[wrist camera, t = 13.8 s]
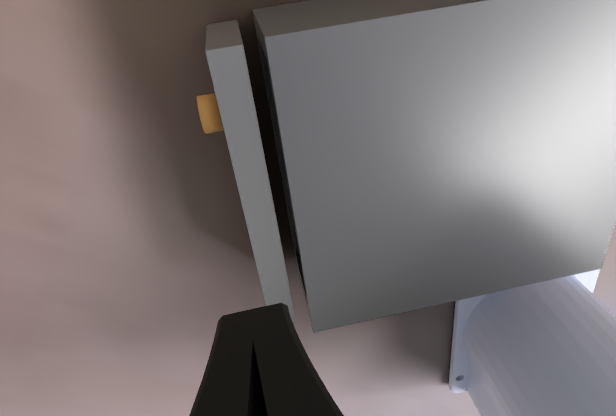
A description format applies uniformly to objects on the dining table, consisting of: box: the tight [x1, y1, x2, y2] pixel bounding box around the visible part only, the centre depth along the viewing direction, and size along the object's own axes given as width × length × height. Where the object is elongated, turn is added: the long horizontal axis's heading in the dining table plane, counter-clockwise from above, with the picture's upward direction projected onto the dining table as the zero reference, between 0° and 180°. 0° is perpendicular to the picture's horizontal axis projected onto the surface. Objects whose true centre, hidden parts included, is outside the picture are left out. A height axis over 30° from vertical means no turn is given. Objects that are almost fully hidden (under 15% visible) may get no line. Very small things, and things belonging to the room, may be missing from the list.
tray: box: [197, 20, 296, 323], centre depth 17 cm, size 11×13×4 cm
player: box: [252, 0, 616, 333], centre depth 17 cm, size 11×12×4 cm
